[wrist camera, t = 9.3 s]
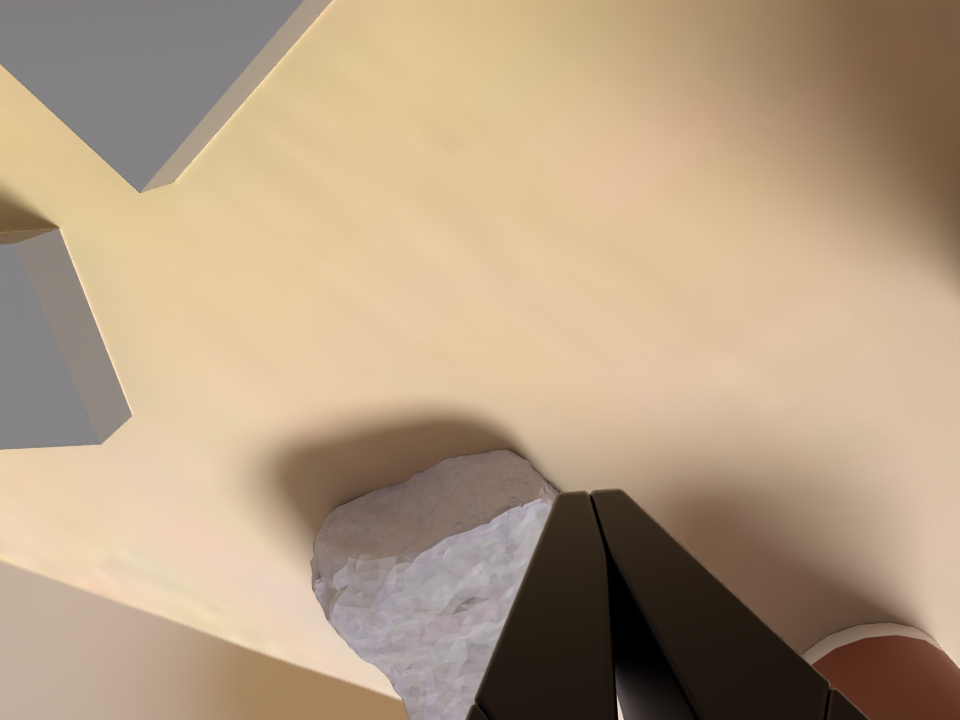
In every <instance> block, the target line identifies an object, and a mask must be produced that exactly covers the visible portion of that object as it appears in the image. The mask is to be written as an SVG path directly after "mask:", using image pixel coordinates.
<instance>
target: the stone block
mask: <svg viewBox="0 0 960 720" xmlns="http://www.w3.org/2000/svg"><path fill="white" fill-rule="evenodd" d="M558 494H559V493H558V492H557V491H556V490H555V489H554V488H553V487H552V486H551V485H550V484H549V483H548V482H547V481H546V480H545V479H544V478H543V477H542V475H541V474H540V473H538V472H537V471H536V470H535V469H534V468H533V467H532V466H531V465H530V463H529V462H528V461H527V460H526V459H524V458H522V457H520V456H518V455H517V454H515V453H514V452H512V451H510V450H507V449H503V450H492V451H489V452H486V453H479V454H471V455H460V456H457V457H451V458H446V459H444V460H443V461H441V462H440V463H437V464H436V465H434V466H432V467H430V468H429V469H426V470H424V471H423V472H417V473H416V474H414V475H413V476H412V477H411V478H410V479H409V480H407V481H406V482H403V483H400V484H396V485H394V486H391V487H384V488H381V489H377V490H374V491H371V492H369V493H367V494H365V495H363V496H361V497H359V498H356V499H354V500H352V501H350V502H348V503H346V504H344V505H340V506H338V507H336V508H335V509H334V510H332V511H331V512H330V513H329V515H328V516H327V517H326V519H325V520H324V523H323V526H322V527H321V529H320V530H319V532H318V533H317V535H316V537H315V541H314V550H313V551H314V557H313V559H312V560H311V567H312V590H313V592H314V593H315V595H316V598H317V600H318V602H319V603H320V605H321V606H322V609H323V611H324V613H325V617H326V619H327V621H328V622H329V623H330V624H331V626H332V627H333V628H334V629H335V631H336V632H337V634H338V635H339V636H340V637H342V638H343V639H344V640H345V641H346V643H347V644H348V646H349V647H350V648H351V649H353V650H354V651H355V652H356V653H357V655H358V656H359V657H360V658H361V659H363V660H364V661H366V662H368V663H371V664H373V665H374V666H376V667H377V668H378V669H380V670H381V671H382V672H383V673H384V674H385V675H386V677H387V678H388V679H389V680H390V682H391V684H392V686H393V688H394V690H395V692H396V693H397V694H398V695H399V696H400V697H401V698H402V701H403V704H404V706H405V709H406V712H407V715H408V718H409V720H465V719H466V717H467V714H468V712H469V709H470V707H471V706H472V705H473V704H475V703H474V698H475V695H476V693H477V690H478V688H479V686H480V683H481V681H482V678H483V676H484V673H485V671H486V668H487V666H488V663H489V661H490V658H491V656H492V654H493V651H494V649H495V646H496V644H497V641H498V639H499V636H500V634H501V631H502V629H503V626H504V624H505V621H506V619H507V617H508V614H509V612H510V609H511V607H512V604H513V602H514V599H515V597H516V594H517V592H518V589H519V587H520V585H521V582H522V580H523V577H524V575H525V572H526V570H527V567H528V565H529V562H530V560H531V557H532V555H533V553H534V550H535V548H536V545H537V543H538V540H539V538H540V535H541V533H542V530H543V528H544V525H545V523H546V520H547V518H548V516H549V513H550V511H551V508H552V506H553V503H554V501H555V498H556V496H557V495H558Z"/></svg>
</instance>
